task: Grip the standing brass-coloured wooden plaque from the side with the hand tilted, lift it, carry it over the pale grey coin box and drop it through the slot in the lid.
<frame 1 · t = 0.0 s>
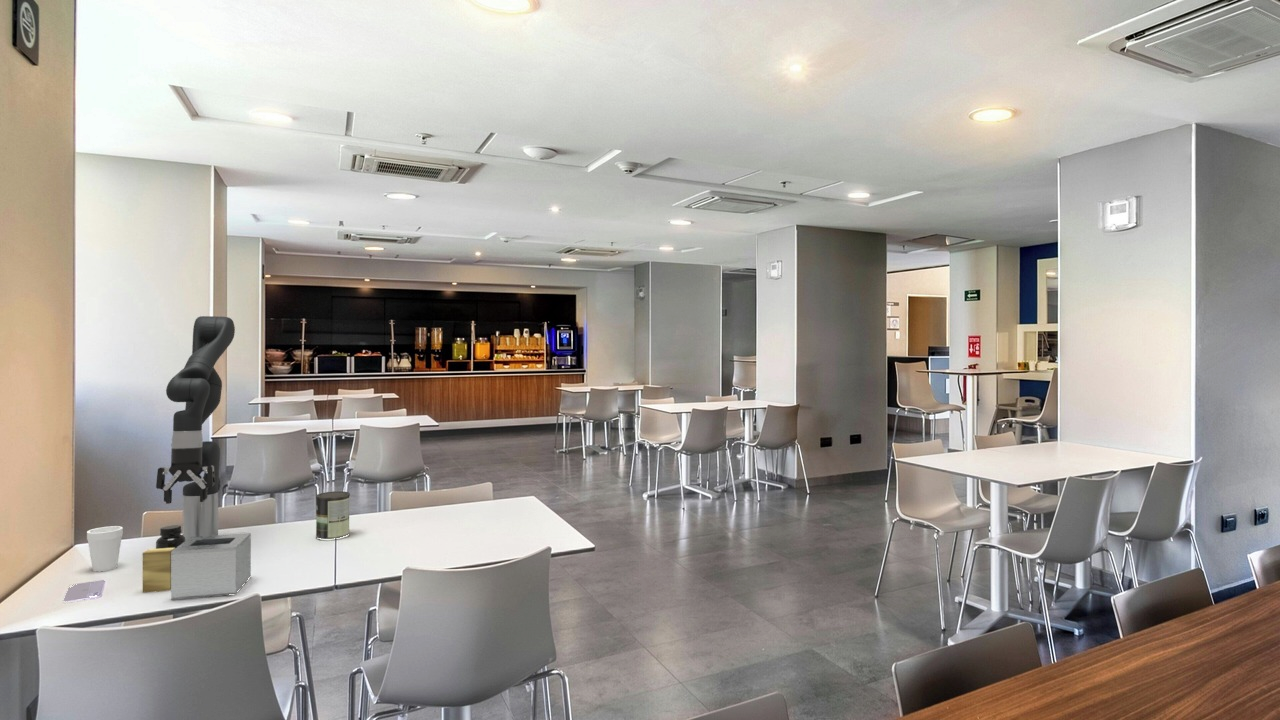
hand: (185, 502, 197), 17 cm above the table, tool pointing down, fingers open, 8 cm apart
mobile phone: (84, 594, 172), on the table
coffee can: (332, 537, 225), on the table
foam cup: (104, 569, 190), on the table
supplement bottle: (170, 570, 189), on the table
plaque: (159, 589, 174), on the table
coin box: (212, 588, 175), on the table
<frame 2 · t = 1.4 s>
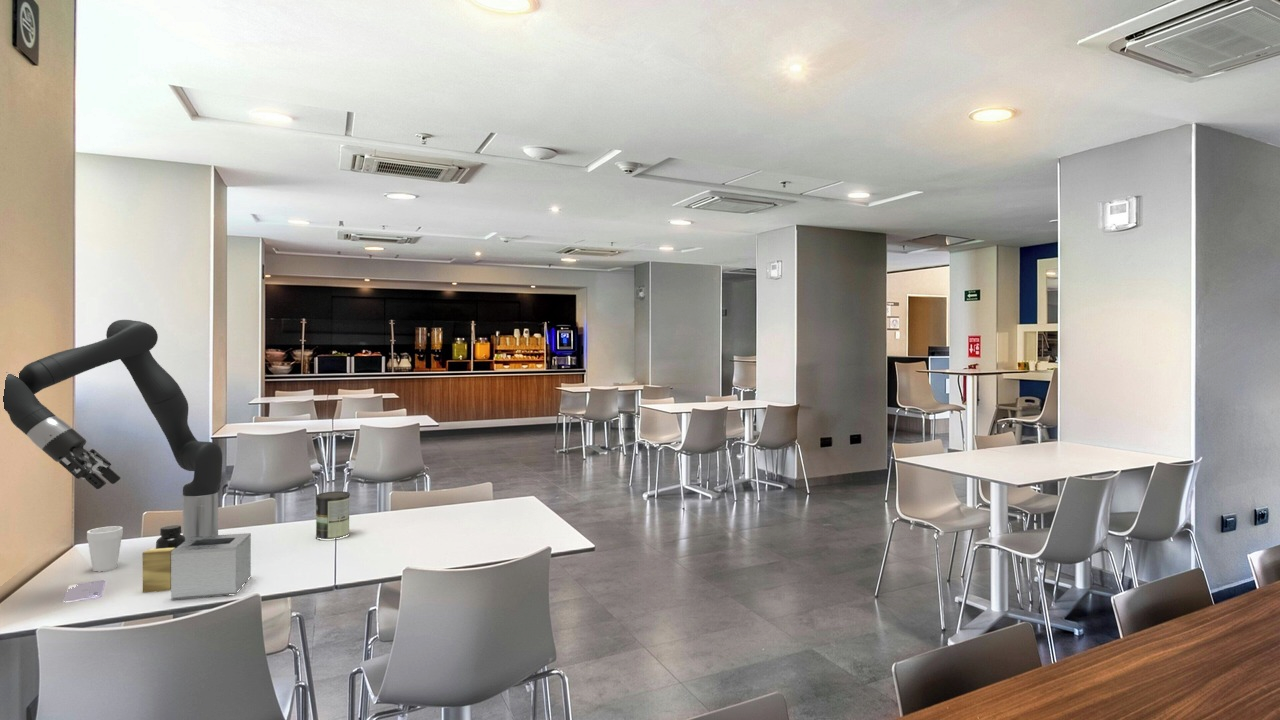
hand: (110, 483, 171), 28 cm above the table, tool tilted 45°, fingers open, 8 cm apart
nothing on the table moved.
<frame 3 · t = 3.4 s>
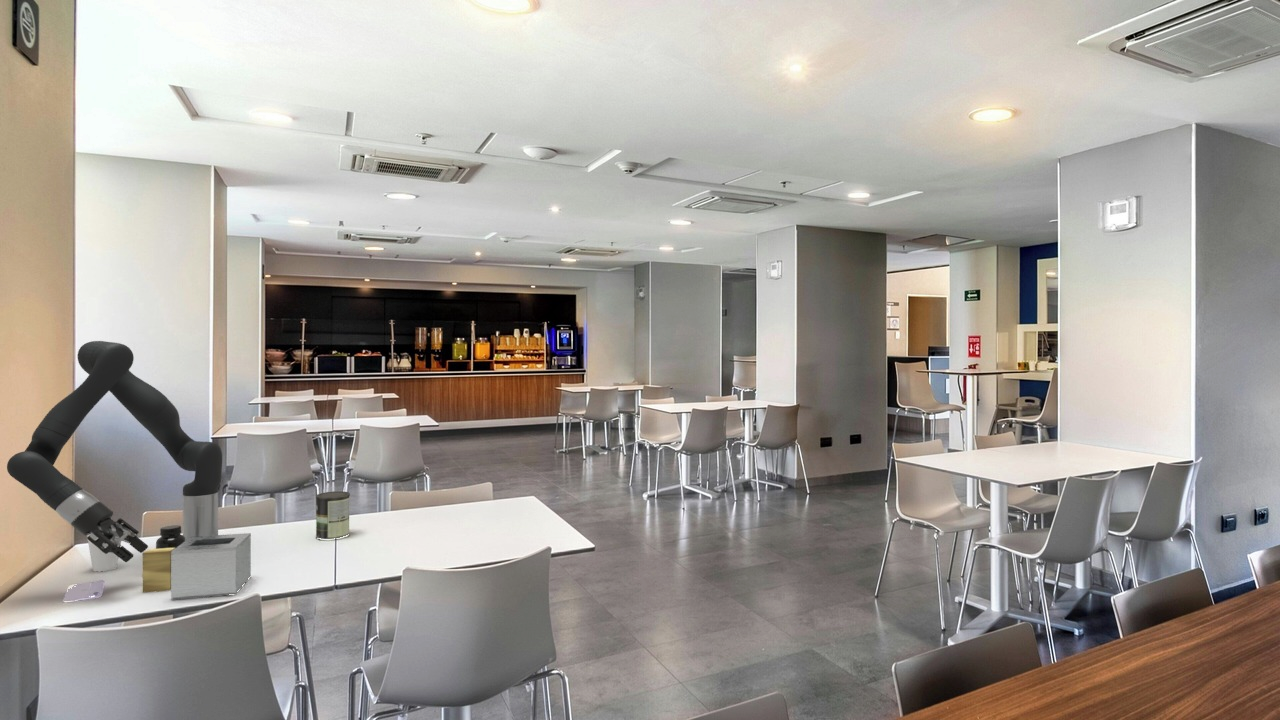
hand: (137, 554, 172), 9 cm above the table, tool tilted 45°, fingers open, 8 cm apart
nothing on the table moved.
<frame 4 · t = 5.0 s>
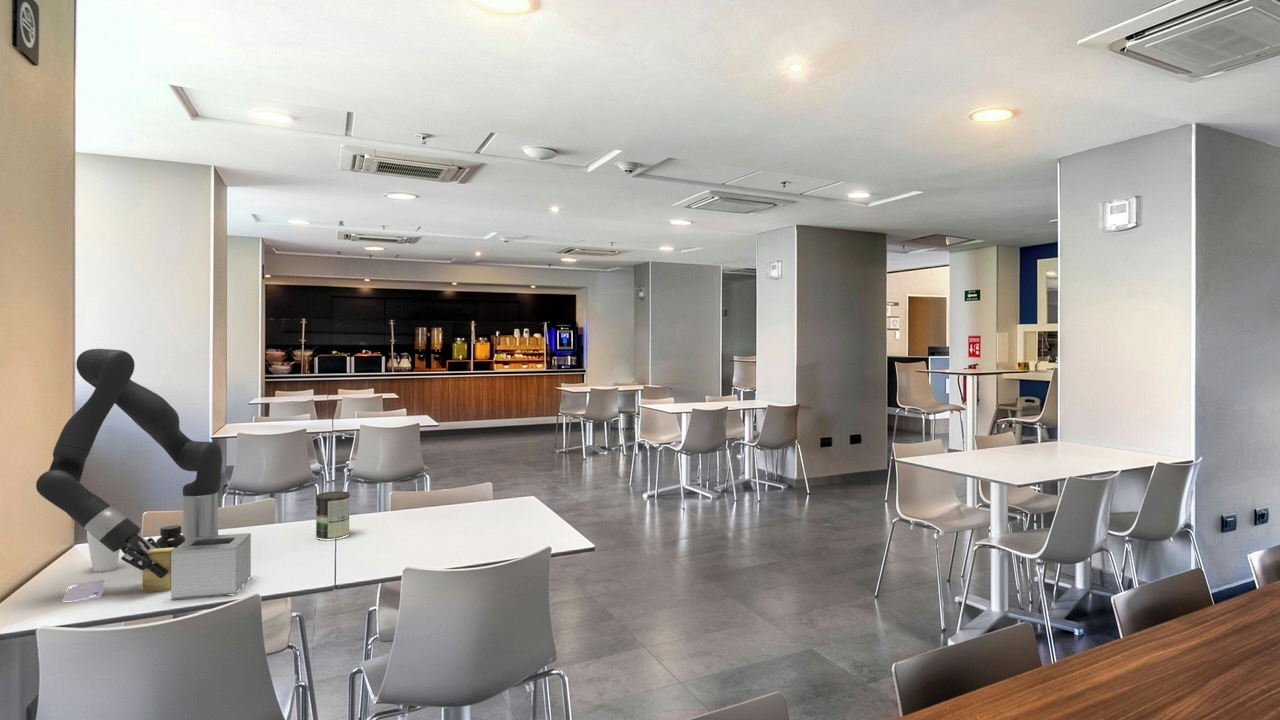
hand: (168, 572, 174), 4 cm above the table, tool tilted 45°, fingers closed on plaque, 3 cm apart
plaque: (158, 589, 174), on the table, touching gripper
everything else where it was.
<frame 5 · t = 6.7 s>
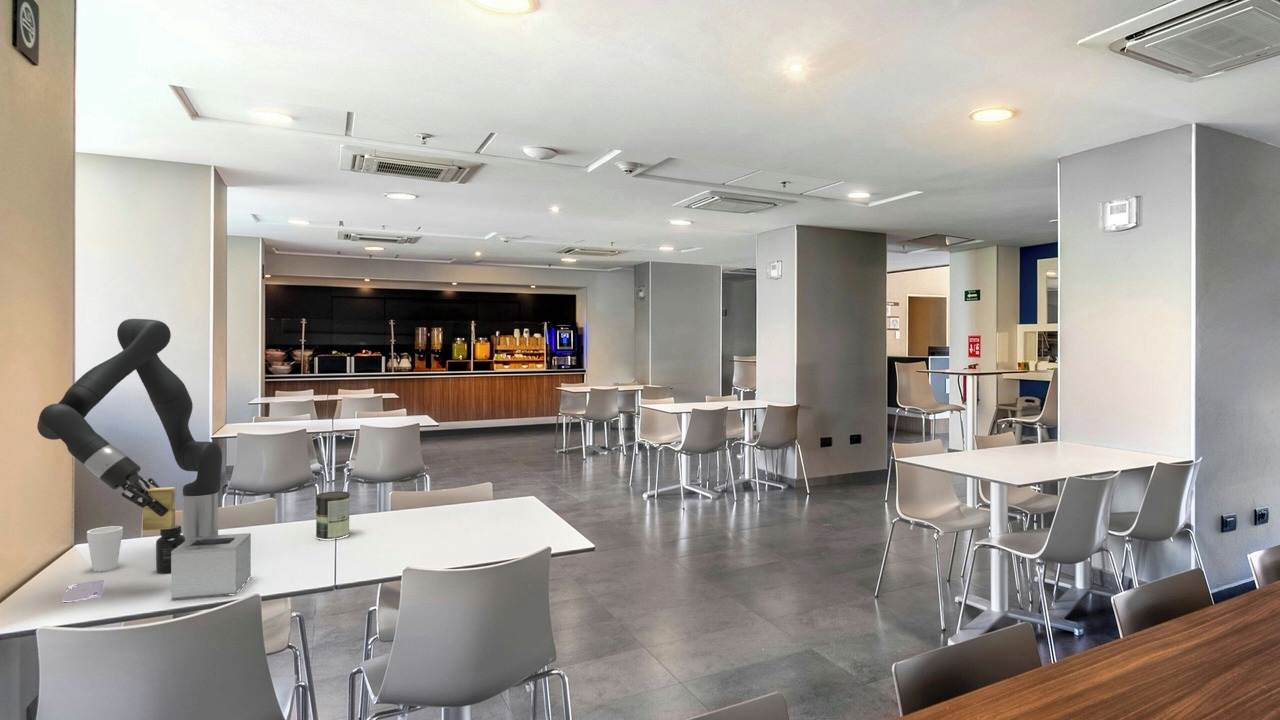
hand: (168, 511, 174), 20 cm above the table, tool tilted 45°, fingers closed on plaque, 3 cm apart
plaque: (159, 527, 174), point 16 cm above the table, touching gripper
everything else where it was.
when the fingers open (18 cm above the table, at t = 8.4 s): plaque drops 12 cm, resting on coin box.
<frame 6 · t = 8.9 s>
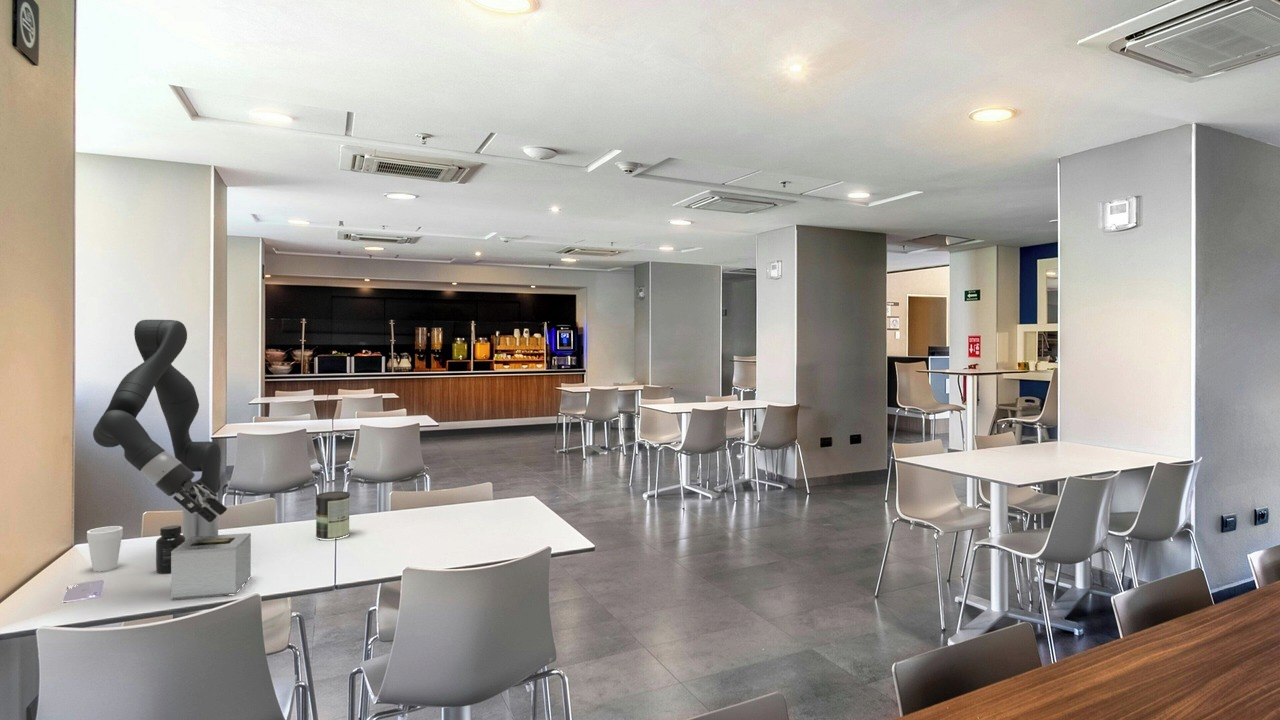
hand: (219, 515, 175), 19 cm above the table, tool tilted 45°, fingers open, 8 cm apart
plaque: (208, 586, 174), point 1 cm above the table, touching coin box
everything else where it was.
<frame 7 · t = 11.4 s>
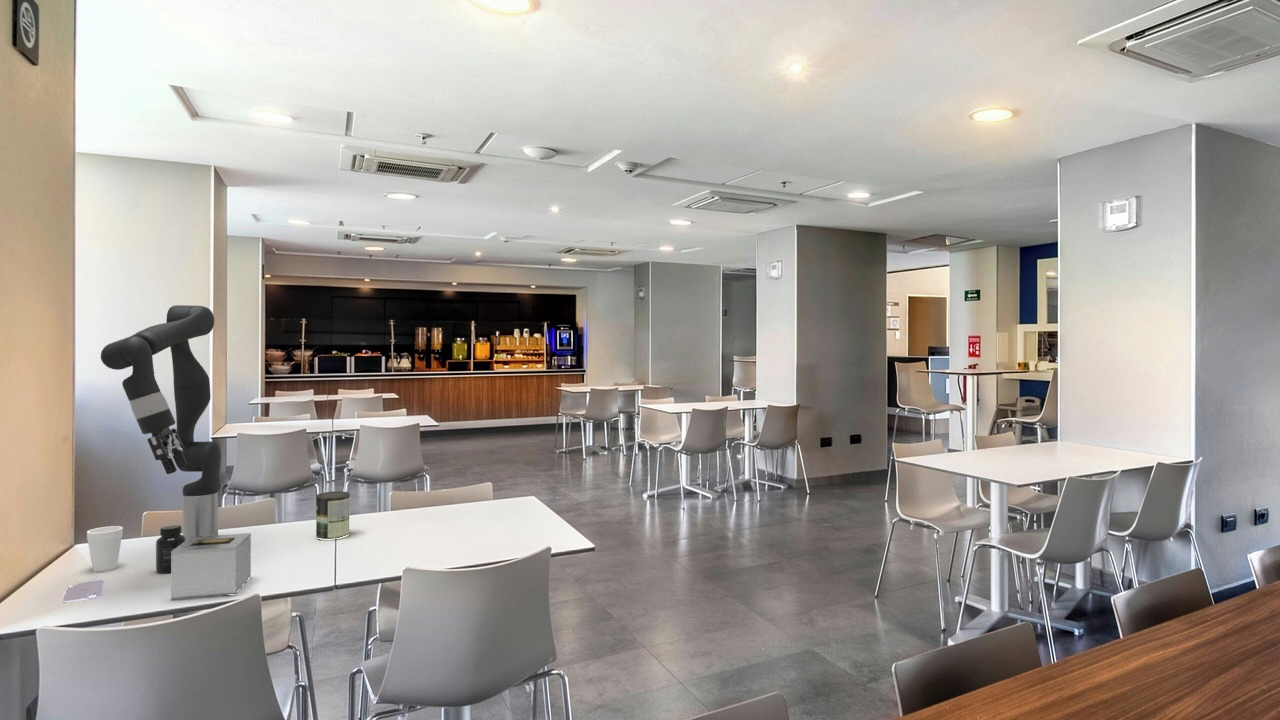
hand: (177, 469, 179), 30 cm above the table, tool tilted 20°, fingers open, 8 cm apart
nothing on the table moved.
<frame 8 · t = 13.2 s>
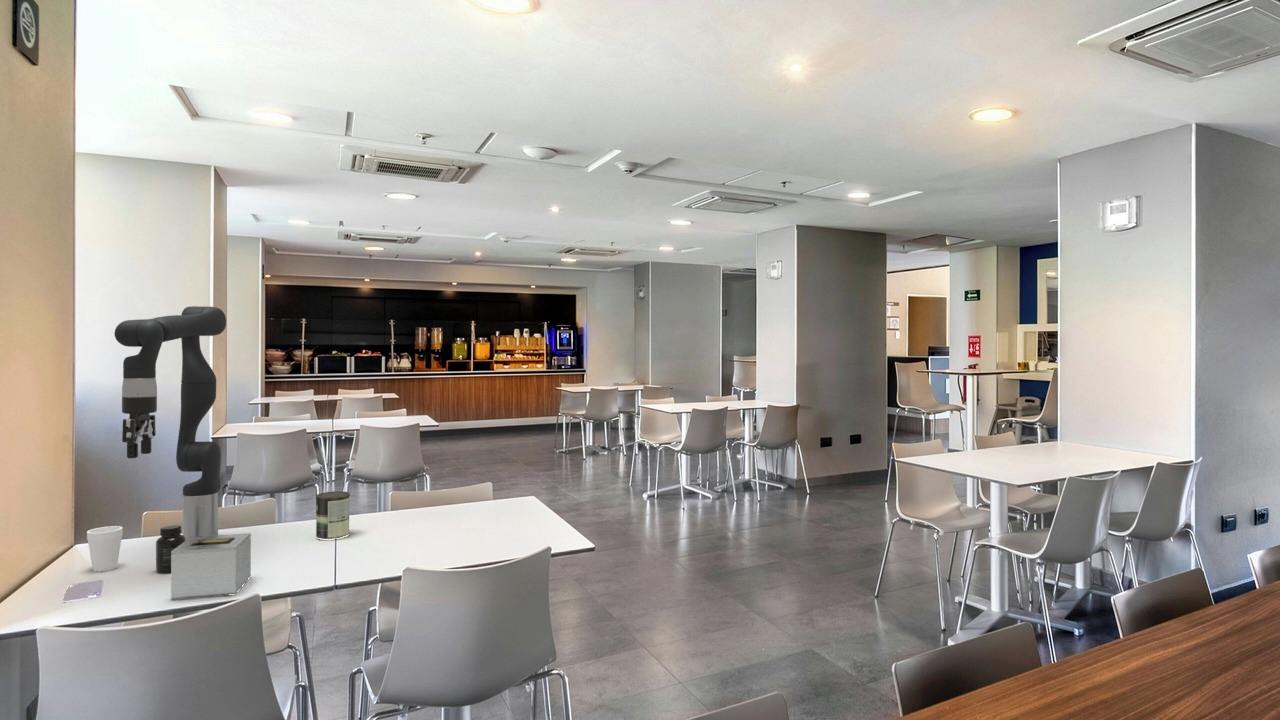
hand: (139, 455, 181), 33 cm above the table, tool pointing down, fingers open, 8 cm apart
nothing on the table moved.
at the end: plaque inside the target area on the coin box (1.0 cm from its centre), point 0.6 cm above the coin box's base; the gripper is holding nothing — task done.
